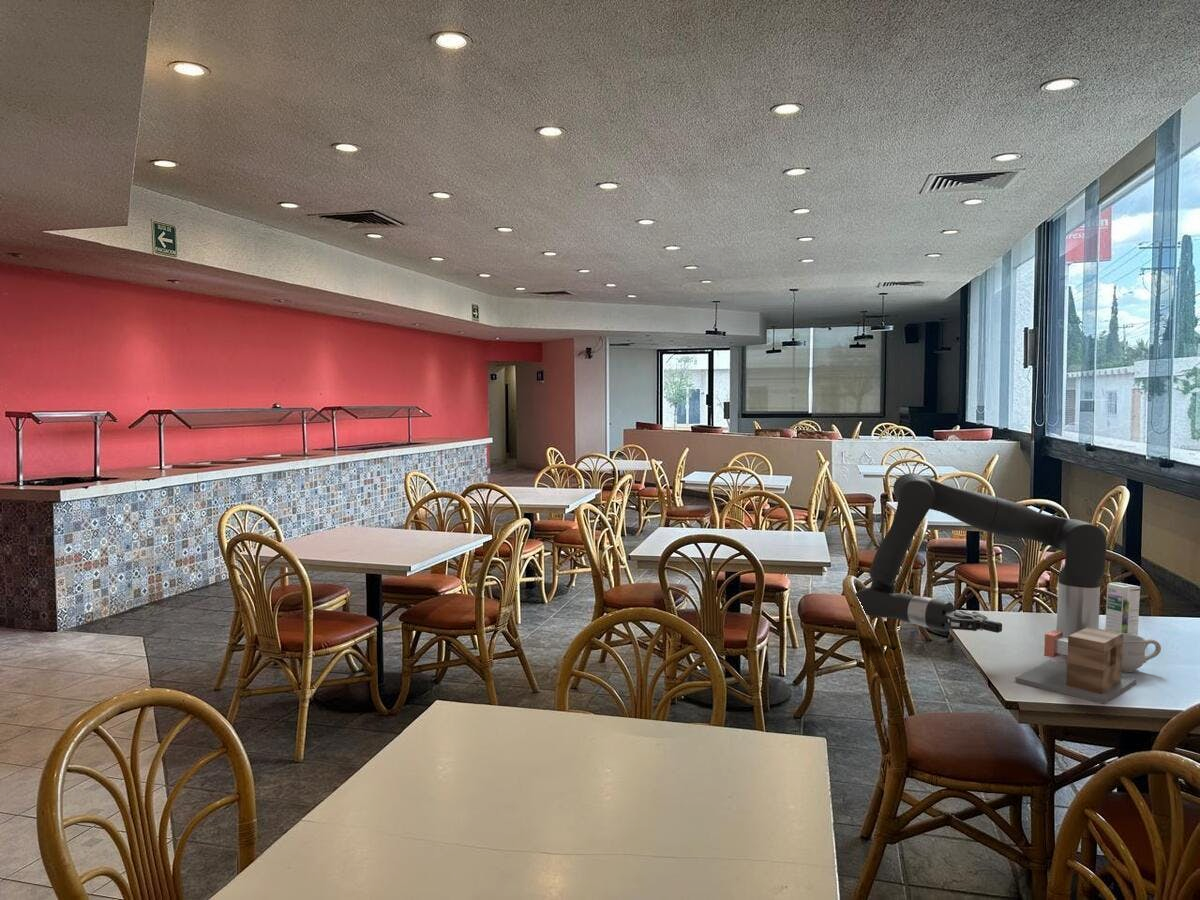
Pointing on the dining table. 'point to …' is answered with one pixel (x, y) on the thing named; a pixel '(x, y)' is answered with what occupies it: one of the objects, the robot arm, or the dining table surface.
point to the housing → (1094, 659)
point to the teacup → (1136, 652)
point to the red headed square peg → (1055, 644)
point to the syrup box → (1122, 608)
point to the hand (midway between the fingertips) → (1000, 628)
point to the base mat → (1055, 677)
